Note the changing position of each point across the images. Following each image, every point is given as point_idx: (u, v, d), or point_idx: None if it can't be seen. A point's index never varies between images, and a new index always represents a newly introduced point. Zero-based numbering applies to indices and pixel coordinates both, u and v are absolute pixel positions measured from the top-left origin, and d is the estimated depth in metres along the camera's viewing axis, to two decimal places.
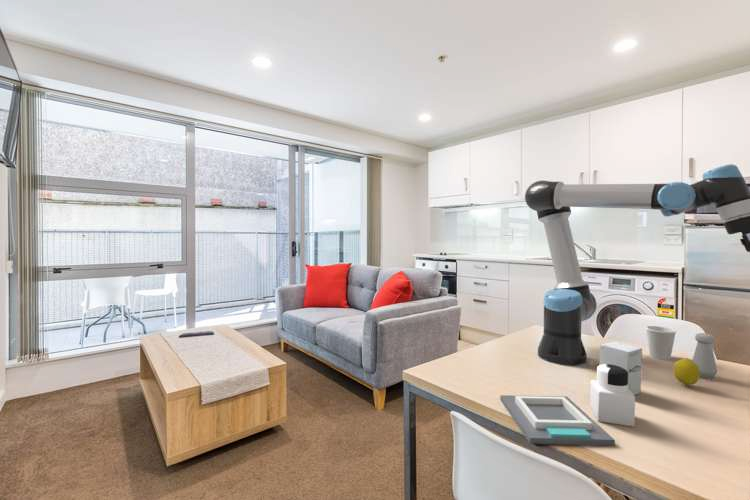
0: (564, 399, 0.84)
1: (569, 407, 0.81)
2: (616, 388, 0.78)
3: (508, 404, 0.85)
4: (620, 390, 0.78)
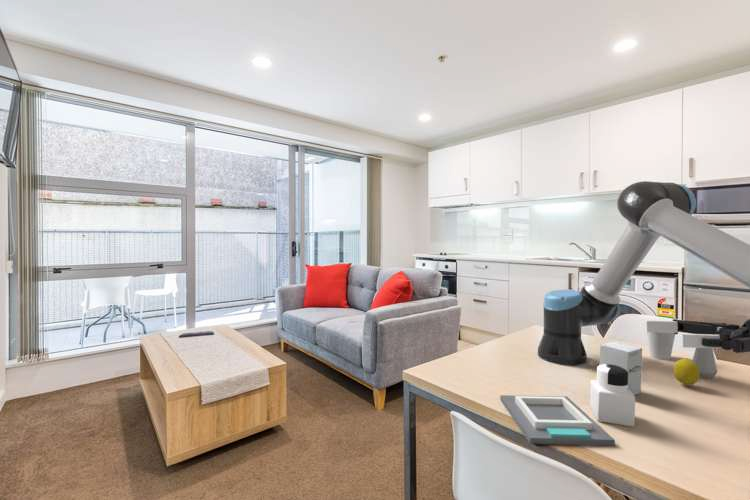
0: (564, 399, 0.84)
1: (569, 407, 0.81)
2: (616, 388, 0.78)
3: (508, 404, 0.85)
4: (620, 390, 0.78)
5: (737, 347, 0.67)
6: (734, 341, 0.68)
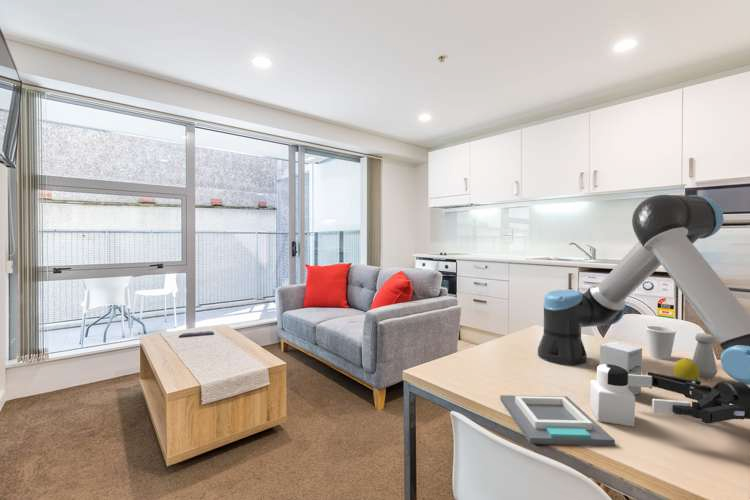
0: (564, 399, 0.84)
1: (569, 407, 0.81)
2: (616, 388, 0.78)
3: (508, 404, 0.85)
4: (620, 390, 0.78)
5: (706, 418, 0.68)
6: (703, 412, 0.68)
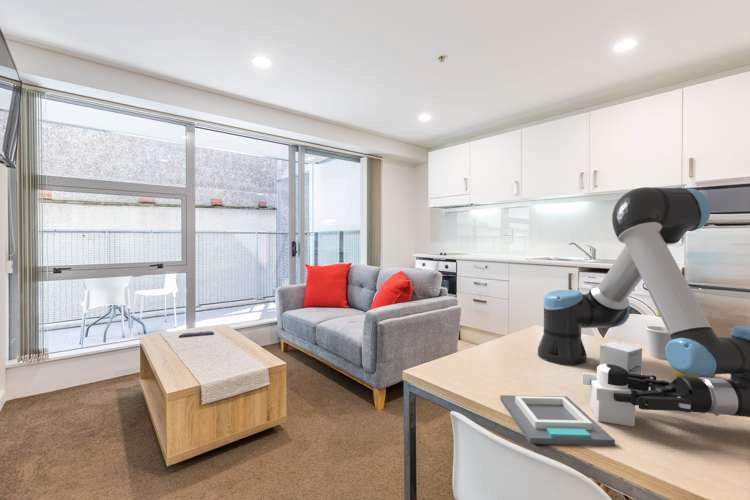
0: (564, 399, 0.84)
1: (569, 407, 0.81)
2: (616, 388, 0.78)
3: (508, 404, 0.85)
4: None
5: (640, 404, 0.73)
6: (639, 399, 0.74)
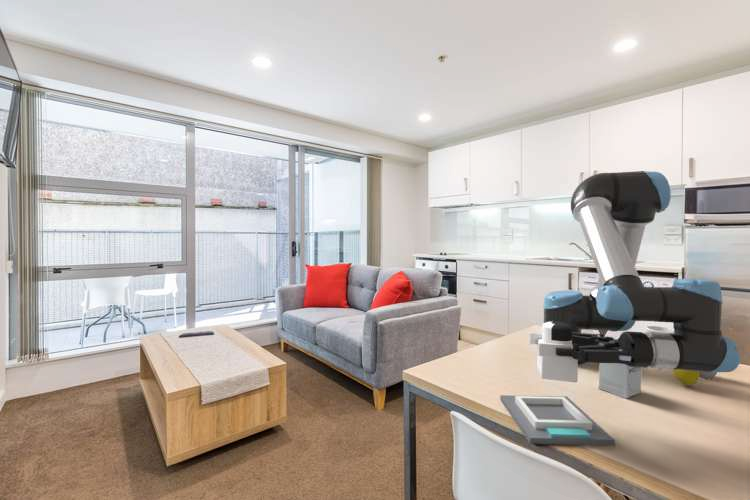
0: (564, 399, 0.84)
1: (569, 407, 0.81)
2: None
3: (508, 404, 0.85)
4: None
5: (581, 357, 0.71)
6: (580, 352, 0.71)
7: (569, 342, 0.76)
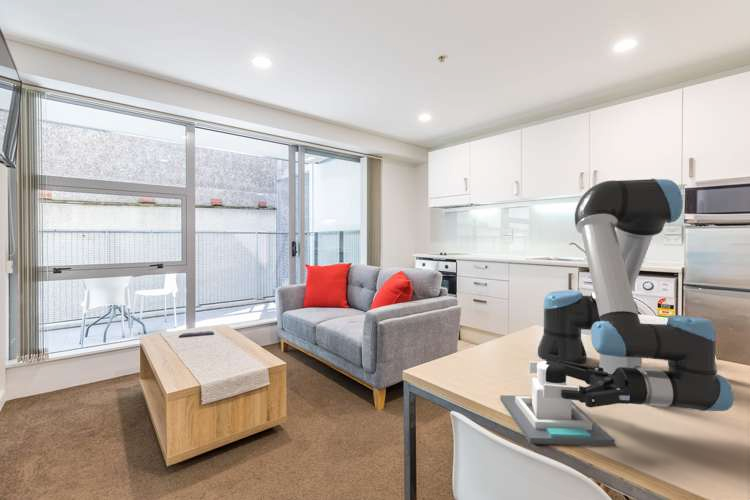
0: None
1: None
2: None
3: (508, 404, 0.85)
4: None
5: (588, 402, 0.69)
6: (586, 396, 0.69)
7: (563, 384, 0.77)
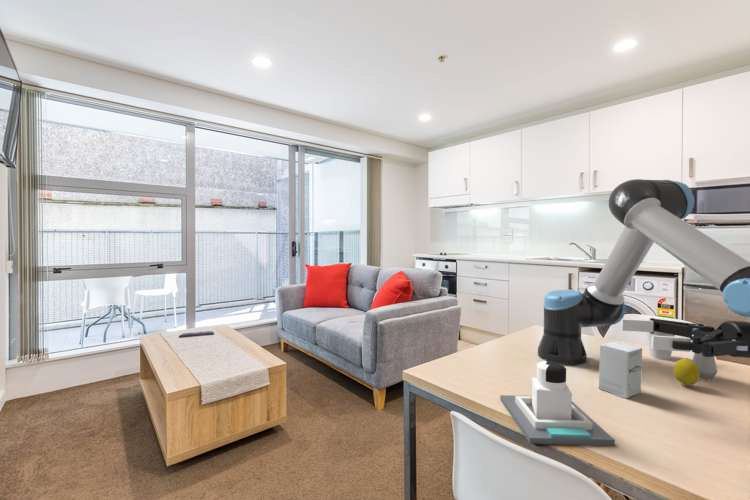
0: None
1: None
2: (554, 385, 0.77)
3: (508, 404, 0.85)
4: (558, 387, 0.77)
5: (706, 351, 0.66)
6: (704, 345, 0.67)
7: (563, 384, 0.77)
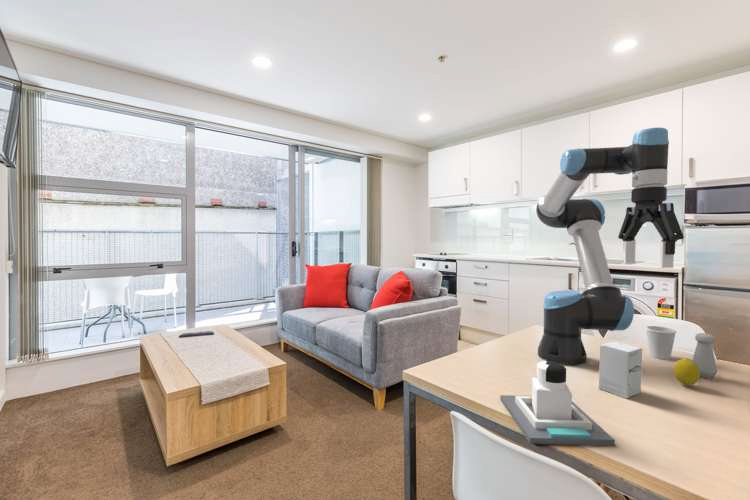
0: None
1: None
2: (554, 385, 0.77)
3: (508, 404, 0.85)
4: (558, 387, 0.77)
5: None
6: None
7: (563, 384, 0.77)
